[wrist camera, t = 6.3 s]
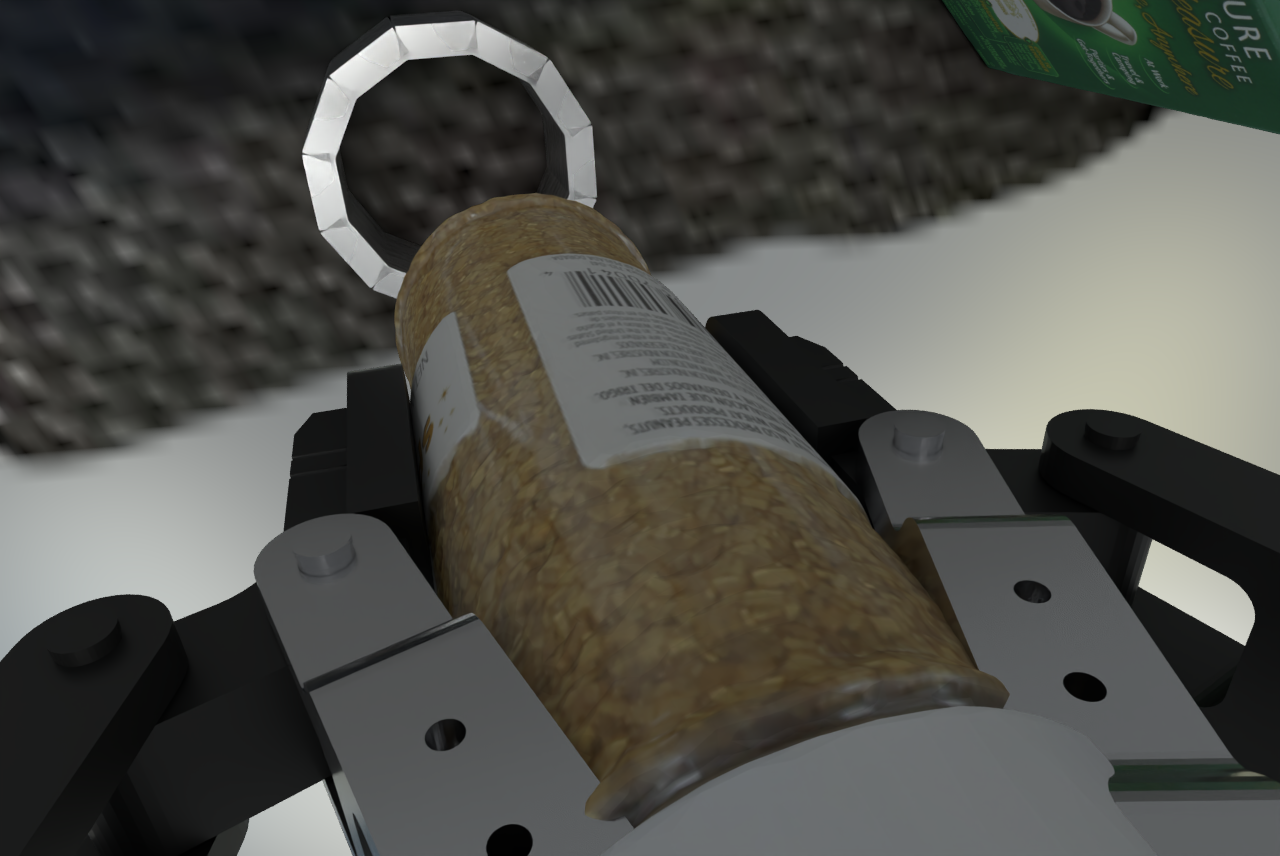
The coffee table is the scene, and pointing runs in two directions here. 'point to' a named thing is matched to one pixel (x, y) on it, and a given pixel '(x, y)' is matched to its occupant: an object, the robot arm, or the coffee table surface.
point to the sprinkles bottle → (700, 574)
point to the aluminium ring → (378, 56)
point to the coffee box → (1141, 50)
